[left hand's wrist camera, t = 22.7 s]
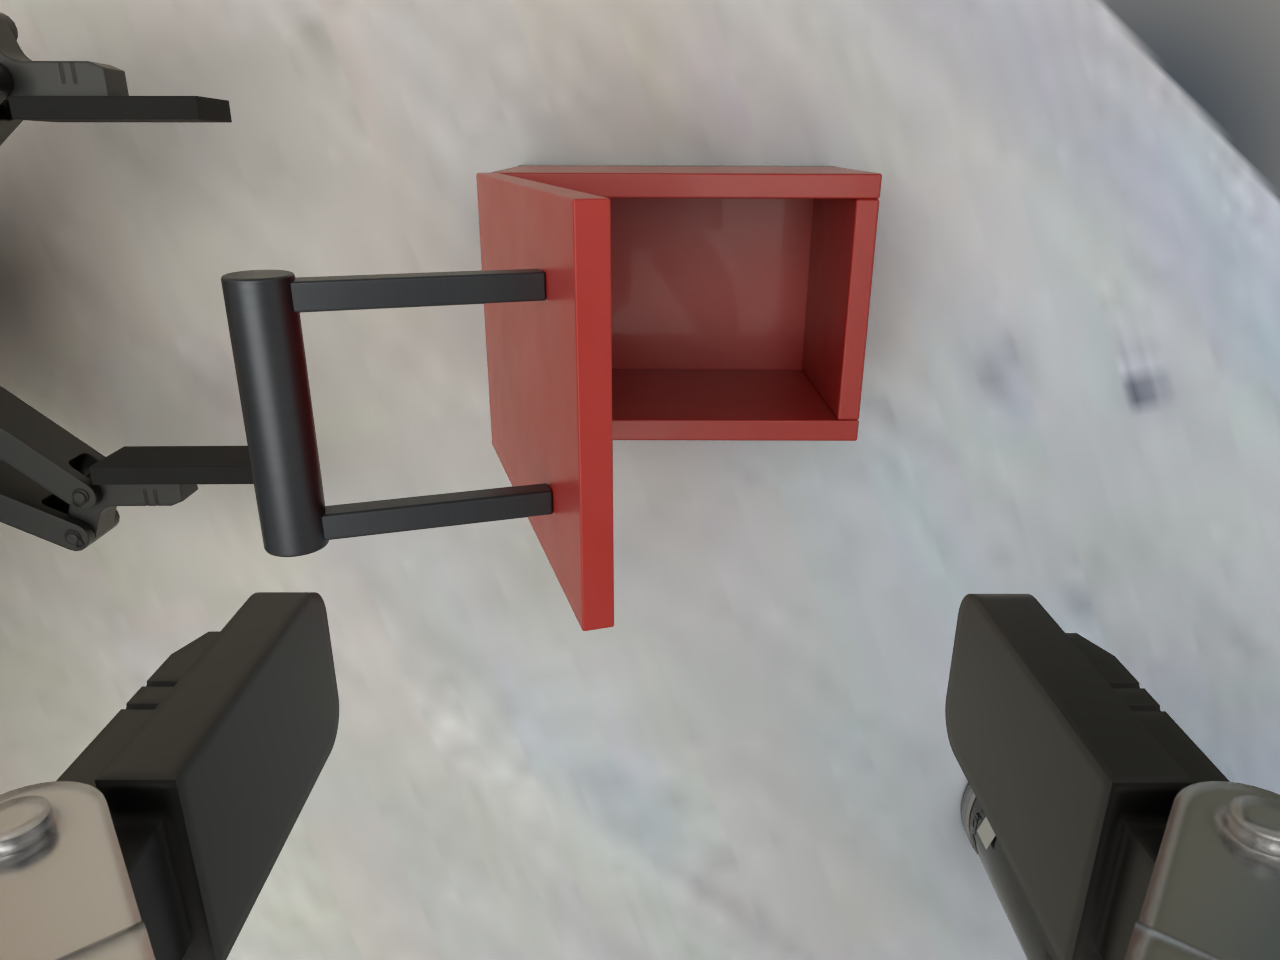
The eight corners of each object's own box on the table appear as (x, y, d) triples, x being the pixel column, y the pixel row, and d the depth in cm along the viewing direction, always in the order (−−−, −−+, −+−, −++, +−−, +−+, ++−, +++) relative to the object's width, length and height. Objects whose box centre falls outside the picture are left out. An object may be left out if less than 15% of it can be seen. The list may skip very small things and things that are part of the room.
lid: (611, 197, 19) (182, 204, 16) (614, 627, 22) (263, 681, 20) (499, 172, 32) (255, 174, 30) (512, 442, 36) (296, 462, 33)
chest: (831, 166, 41) (882, 173, 32) (815, 382, 45) (857, 441, 36) (521, 165, 41) (489, 172, 32) (530, 381, 45) (503, 440, 36)
